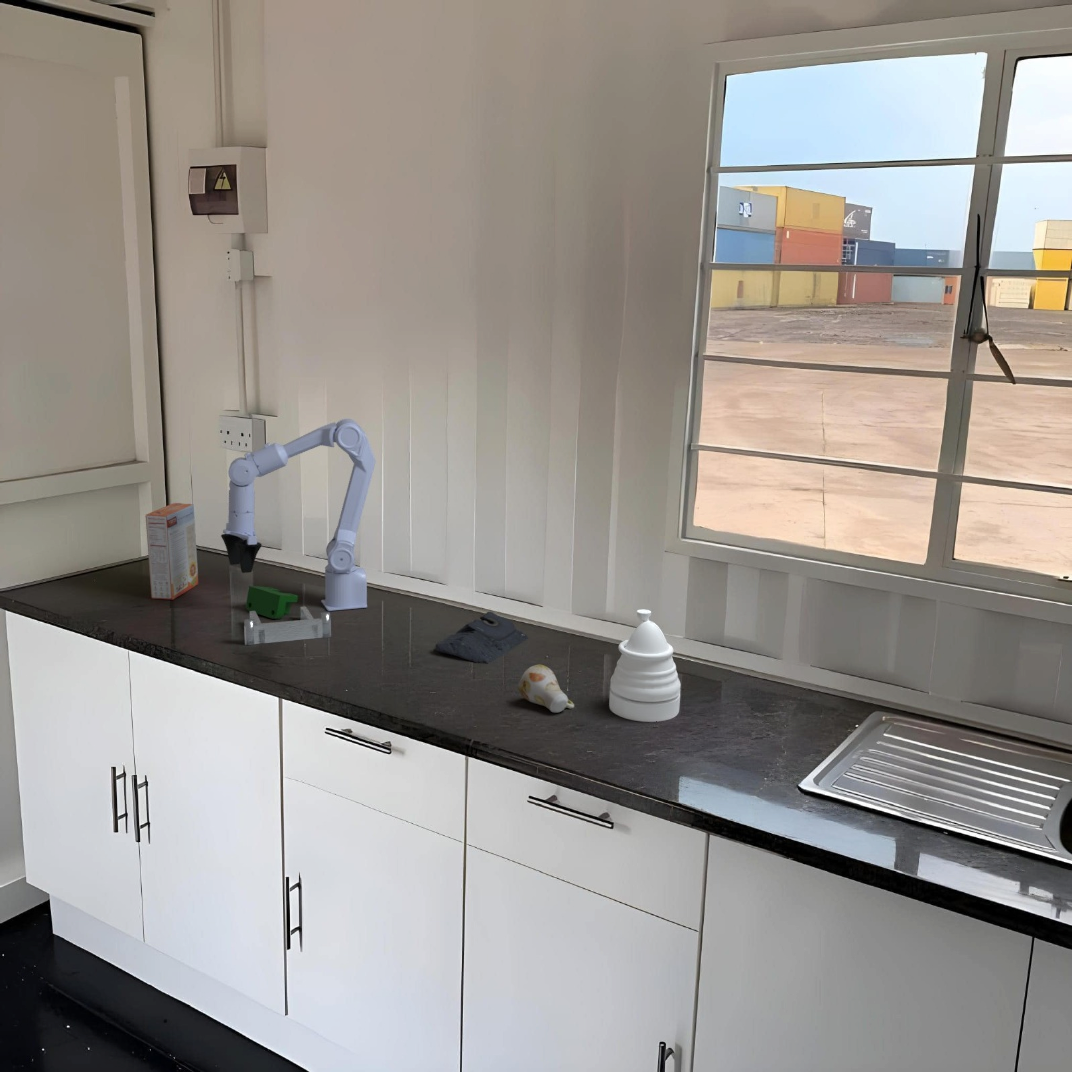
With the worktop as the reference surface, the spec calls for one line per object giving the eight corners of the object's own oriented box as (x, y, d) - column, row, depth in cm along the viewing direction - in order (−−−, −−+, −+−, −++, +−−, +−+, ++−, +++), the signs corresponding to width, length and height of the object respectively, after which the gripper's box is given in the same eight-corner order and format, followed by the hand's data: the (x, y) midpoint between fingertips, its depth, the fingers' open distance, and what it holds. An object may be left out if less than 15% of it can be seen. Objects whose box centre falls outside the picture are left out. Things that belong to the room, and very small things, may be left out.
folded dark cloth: (422, 655, 216) (422, 633, 215) (472, 627, 236) (472, 607, 235) (488, 668, 210) (488, 645, 209) (533, 637, 230) (533, 617, 228)
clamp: (288, 633, 240) (304, 600, 237) (267, 632, 235) (284, 599, 232) (261, 603, 246) (277, 571, 244) (241, 602, 241) (256, 570, 239)
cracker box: (176, 583, 261) (172, 502, 256) (199, 585, 260) (195, 503, 255) (148, 599, 247) (144, 513, 243) (172, 600, 246) (168, 514, 242)
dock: (318, 617, 237) (317, 596, 236) (331, 637, 224) (331, 614, 223) (237, 625, 230) (236, 602, 229) (245, 645, 217) (244, 621, 216)
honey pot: (597, 699, 194) (601, 607, 190) (656, 691, 199) (662, 601, 195) (629, 726, 183) (635, 628, 178) (692, 716, 188) (699, 621, 184)
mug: (551, 721, 184) (528, 670, 184) (529, 725, 193) (507, 676, 193) (584, 704, 187) (561, 653, 188) (561, 709, 196) (539, 660, 197)
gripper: (213, 505, 240) (212, 562, 243) (235, 518, 228) (234, 577, 231) (243, 503, 244) (242, 559, 247) (266, 516, 232) (265, 574, 235)
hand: (240, 568), depth 239 cm, fingers open, 7 cm apart
